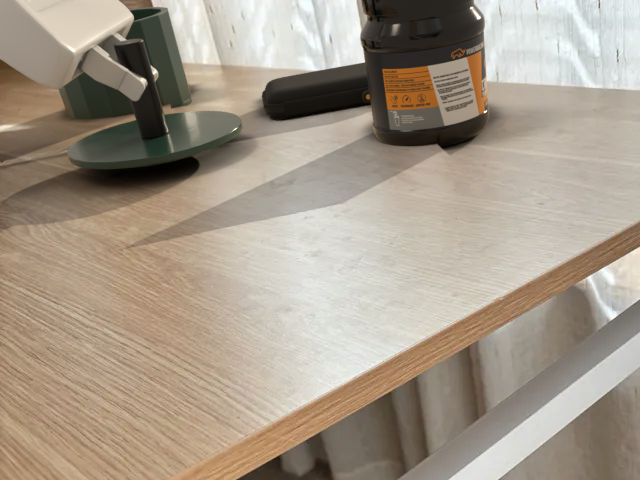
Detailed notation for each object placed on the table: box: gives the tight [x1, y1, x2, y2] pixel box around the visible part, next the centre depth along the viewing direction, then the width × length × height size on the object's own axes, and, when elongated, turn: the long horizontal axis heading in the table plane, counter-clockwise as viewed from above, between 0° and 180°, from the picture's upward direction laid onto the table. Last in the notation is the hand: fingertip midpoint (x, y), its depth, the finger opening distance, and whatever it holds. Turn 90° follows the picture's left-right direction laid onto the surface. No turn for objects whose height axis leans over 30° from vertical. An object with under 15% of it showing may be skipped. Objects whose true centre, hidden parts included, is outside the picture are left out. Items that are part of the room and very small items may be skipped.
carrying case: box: [261, 61, 371, 121], centre depth 86 cm, size 11×3×15 cm
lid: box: [67, 39, 244, 170], centre depth 74 cm, size 16×16×9 cm
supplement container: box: [359, 0, 490, 148], centre depth 70 cm, size 10×10×12 cm
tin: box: [58, 6, 193, 120], centre depth 96 cm, size 15×15×10 cm
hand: (148, 88), depth 73 cm, fingers closed on lid, 2 cm apart
